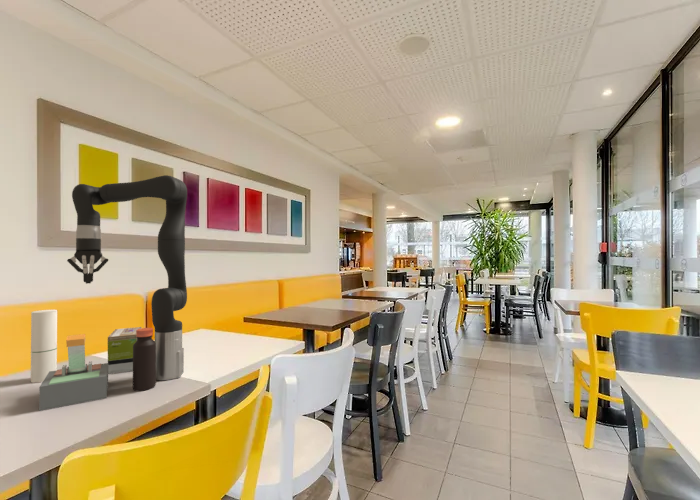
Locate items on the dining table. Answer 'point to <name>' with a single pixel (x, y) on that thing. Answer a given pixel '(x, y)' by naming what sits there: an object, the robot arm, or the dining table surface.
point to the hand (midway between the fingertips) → (88, 283)
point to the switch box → (73, 386)
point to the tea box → (121, 350)
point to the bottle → (144, 360)
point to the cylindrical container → (43, 344)
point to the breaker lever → (76, 354)
